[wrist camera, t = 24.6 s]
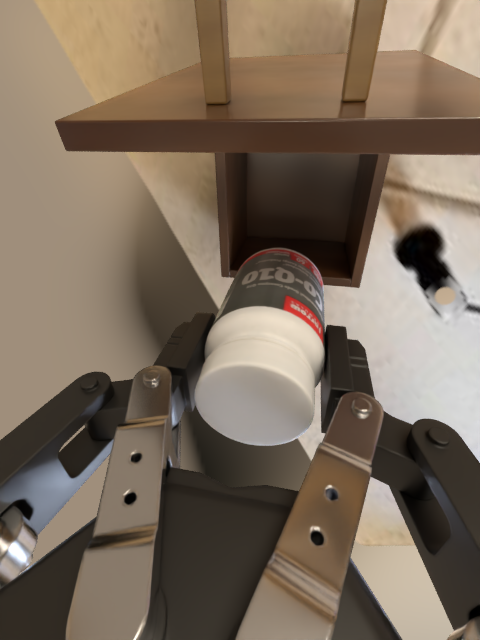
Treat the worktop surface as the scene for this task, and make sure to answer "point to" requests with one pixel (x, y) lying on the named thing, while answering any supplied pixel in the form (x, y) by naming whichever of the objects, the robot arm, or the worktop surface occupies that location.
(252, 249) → the chest
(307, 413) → the pill bottle
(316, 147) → the lid
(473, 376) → the worktop surface
